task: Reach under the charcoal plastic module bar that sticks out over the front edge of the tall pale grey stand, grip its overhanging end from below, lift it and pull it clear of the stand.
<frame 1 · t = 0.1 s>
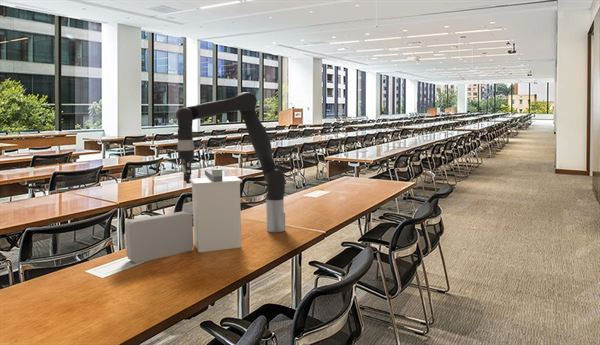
hand: (187, 182, 221), 29 cm above the table, tool pointing down, fingers open, 8 cm apart
tall stand: (217, 245, 215), on the table
module bar: (213, 177, 216), point 32 cm above the table, touching tall stand
rounded white slab: (161, 256, 202), on the table
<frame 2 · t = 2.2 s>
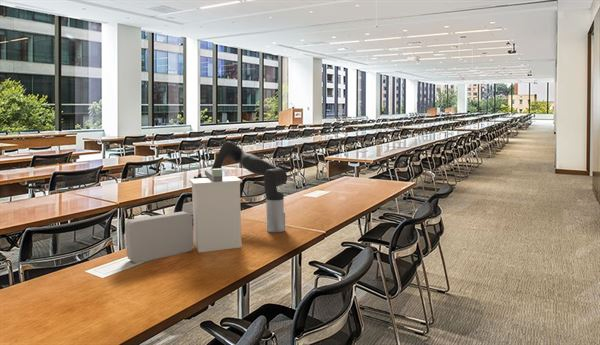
hand: (208, 174, 237), 31 cm above the table, tool pointing upward, fingers open, 8 cm apart
nothing on the table moved.
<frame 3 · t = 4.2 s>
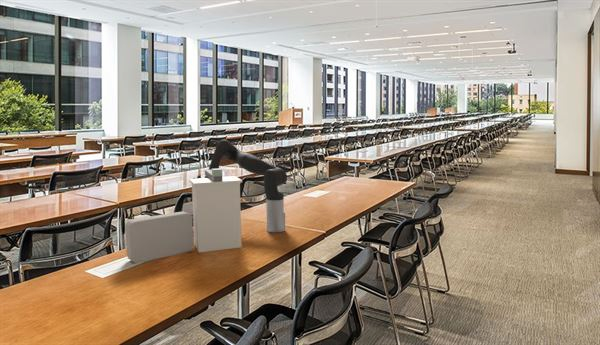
hand: (208, 176, 228), 31 cm above the table, tool pointing upward, fingers open, 8 cm apart
nothing on the table moved.
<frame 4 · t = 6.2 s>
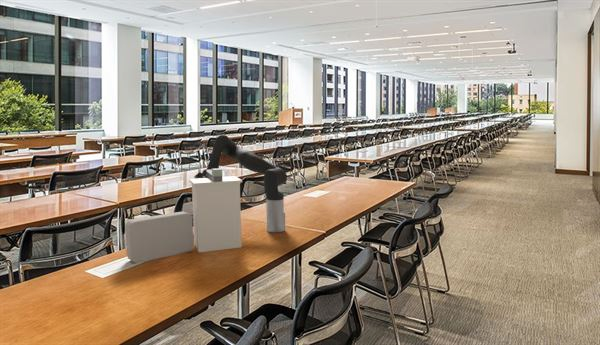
hand: (210, 170, 222), 35 cm above the table, tool pointing upward, fingers closed on module bar, 4 cm apart
module bar: (213, 177, 216), point 32 cm above the table, touching gripper, tall stand
everything else where it was.
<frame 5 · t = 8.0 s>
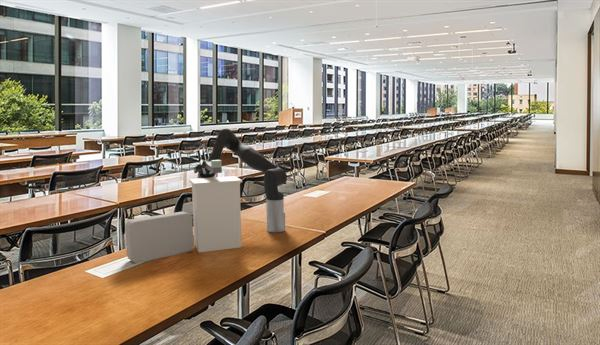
hand: (209, 162, 222), 39 cm above the table, tool pointing upward, fingers closed on module bar, 4 cm apart
module bar: (212, 169, 216), point 36 cm above the table, touching gripper
everything else where it was.
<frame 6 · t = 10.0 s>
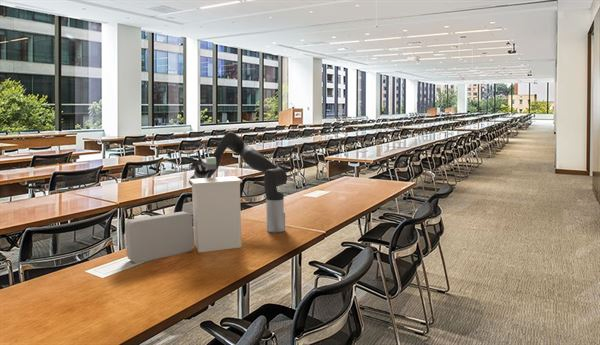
hand: (205, 159, 234), 39 cm above the table, tool pointing upward, fingers closed on module bar, 4 cm apart
module bar: (207, 166, 228), point 36 cm above the table, touching gripper
everything else where it was.
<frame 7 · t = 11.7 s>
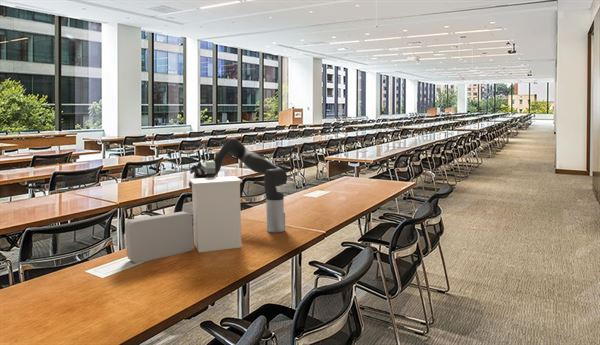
hand: (204, 163, 237), 36 cm above the table, tool pointing upward, fingers closed on module bar, 4 cm apart
module bar: (207, 170, 231), point 34 cm above the table, touching gripper
everything else where it was.
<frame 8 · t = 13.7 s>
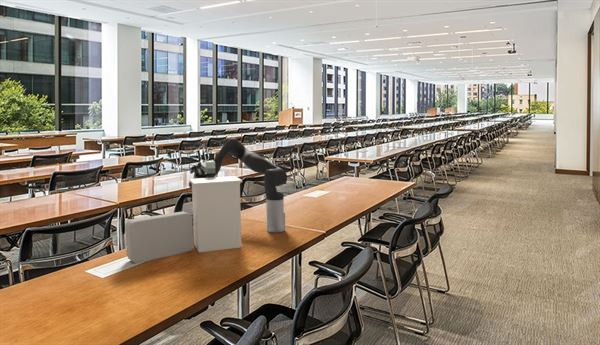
hand: (204, 163, 237), 36 cm above the table, tool pointing upward, fingers closed on module bar, 4 cm apart
module bar: (207, 170, 231), point 34 cm above the table, touching gripper
everything else where it was.
at the end: the gripper is holding module bar; module bar touching gripper; module bar moved 16.5 cm from its start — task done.
